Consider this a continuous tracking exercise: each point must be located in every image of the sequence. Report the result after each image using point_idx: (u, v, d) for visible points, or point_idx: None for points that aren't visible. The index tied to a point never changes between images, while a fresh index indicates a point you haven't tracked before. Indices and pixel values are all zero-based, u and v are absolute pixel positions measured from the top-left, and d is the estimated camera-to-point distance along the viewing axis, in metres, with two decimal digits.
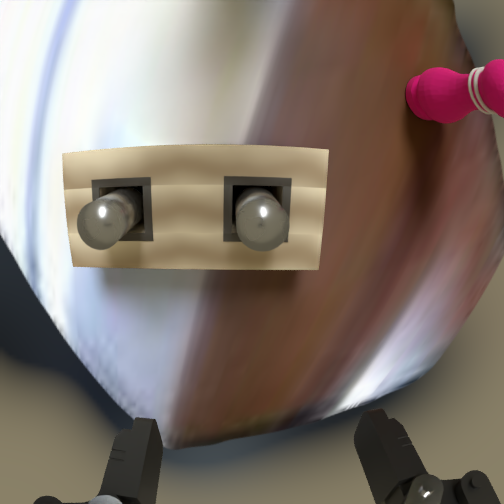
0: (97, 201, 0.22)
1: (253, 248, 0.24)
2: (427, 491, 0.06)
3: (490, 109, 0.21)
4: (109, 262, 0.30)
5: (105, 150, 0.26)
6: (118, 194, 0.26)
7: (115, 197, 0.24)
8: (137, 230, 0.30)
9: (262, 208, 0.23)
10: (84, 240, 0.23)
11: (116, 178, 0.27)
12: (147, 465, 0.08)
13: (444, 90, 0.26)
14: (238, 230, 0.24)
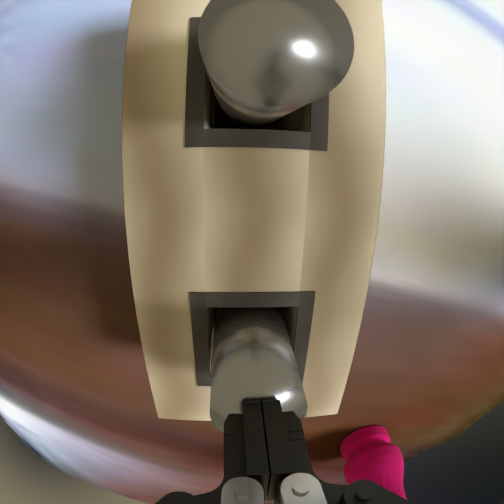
0: (351, 47, 0.07)
1: (214, 404, 0.11)
2: (303, 492, 0.07)
3: None
4: (138, 45, 0.11)
5: (383, 65, 0.12)
6: None
7: None
8: (205, 107, 0.13)
9: (292, 410, 0.12)
10: None
11: None
12: None
13: (386, 478, 0.24)
14: (251, 382, 0.11)
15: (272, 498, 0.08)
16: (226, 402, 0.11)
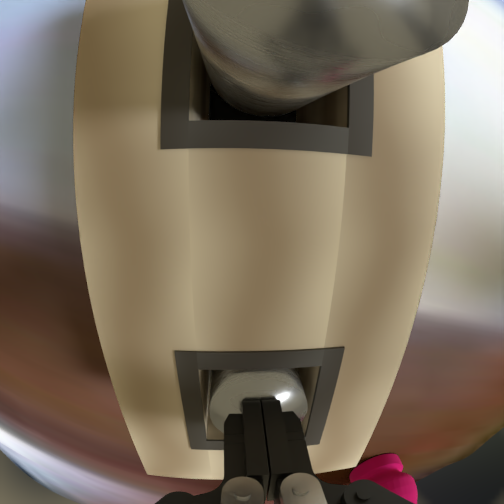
0: None
1: (214, 404, 0.11)
2: (303, 492, 0.07)
3: None
4: (99, 7, 0.07)
5: None
6: None
7: None
8: (193, 90, 0.09)
9: (292, 410, 0.12)
10: None
11: None
12: None
13: None
14: (251, 382, 0.11)
15: (272, 498, 0.08)
16: (226, 402, 0.11)
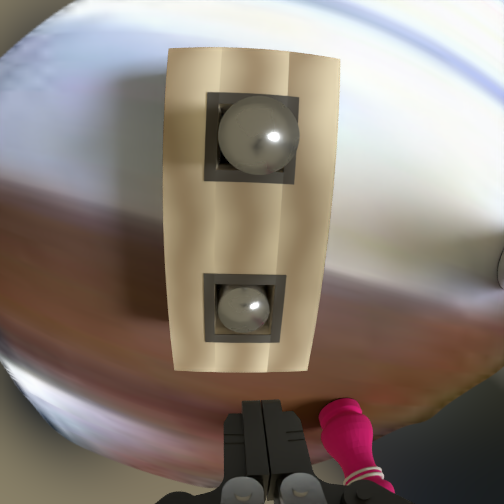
0: (298, 139, 0.15)
1: (221, 304, 0.24)
2: (303, 492, 0.07)
3: None
4: (172, 109, 0.19)
5: (336, 123, 0.20)
6: None
7: None
8: None
9: (261, 310, 0.24)
10: (236, 105, 0.14)
11: None
12: None
13: (356, 442, 0.32)
14: (240, 290, 0.24)
15: (272, 498, 0.08)
16: (227, 303, 0.24)
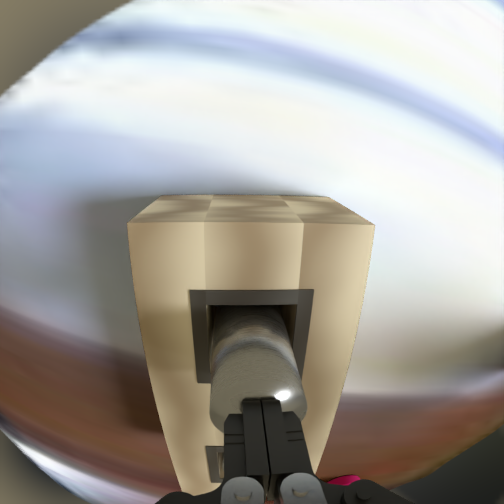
0: (305, 409, 0.12)
1: None
2: (302, 492, 0.07)
3: None
4: (147, 309, 0.16)
5: (358, 313, 0.16)
6: None
7: None
8: None
9: None
10: (228, 390, 0.11)
11: (307, 332, 0.17)
12: None
13: None
14: None
15: (272, 498, 0.08)
16: None
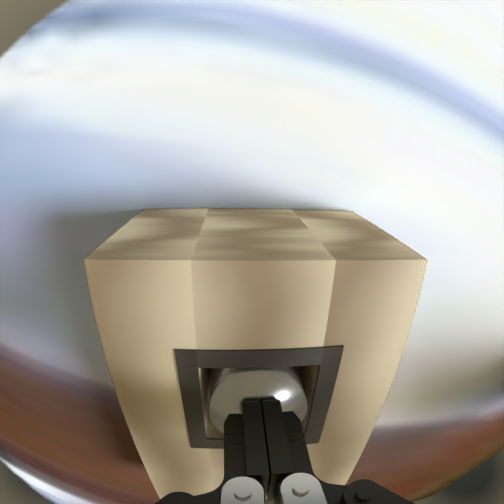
0: (305, 409, 0.12)
1: None
2: (303, 492, 0.07)
3: None
4: (121, 369, 0.11)
5: (394, 368, 0.12)
6: None
7: None
8: (205, 410, 0.13)
9: None
10: (228, 390, 0.11)
11: (331, 393, 0.12)
12: None
13: None
14: None
15: (272, 498, 0.08)
16: None
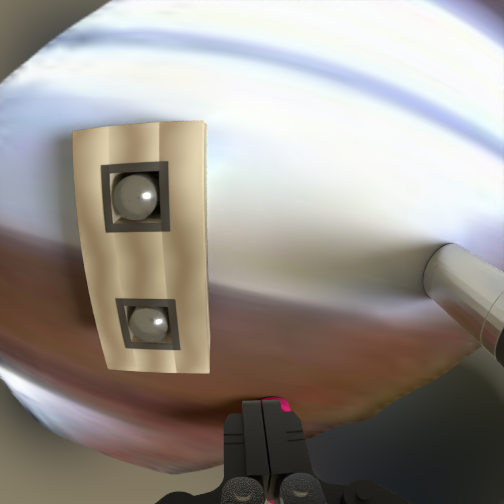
0: (156, 198, 0.26)
1: (130, 320, 0.30)
2: (303, 492, 0.07)
3: None
4: (79, 180, 0.25)
5: (200, 179, 0.26)
6: None
7: (159, 200, 0.29)
8: (115, 210, 0.27)
9: (160, 325, 0.30)
10: (120, 182, 0.25)
11: (169, 192, 0.26)
12: None
13: None
14: (142, 311, 0.30)
15: (272, 498, 0.08)
16: (135, 319, 0.30)
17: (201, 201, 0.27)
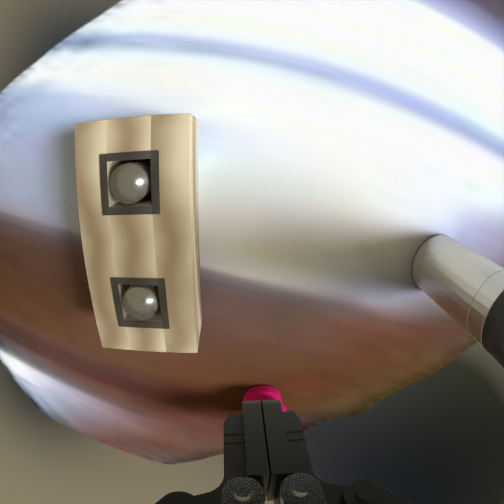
0: (147, 183, 0.28)
1: (123, 299, 0.32)
2: (303, 492, 0.07)
3: None
4: (80, 167, 0.27)
5: (187, 165, 0.28)
6: None
7: None
8: (111, 195, 0.29)
9: (151, 304, 0.33)
10: (116, 169, 0.28)
11: (159, 178, 0.29)
12: None
13: None
14: (134, 289, 0.32)
15: (272, 498, 0.08)
16: (127, 298, 0.32)
17: (188, 186, 0.29)
